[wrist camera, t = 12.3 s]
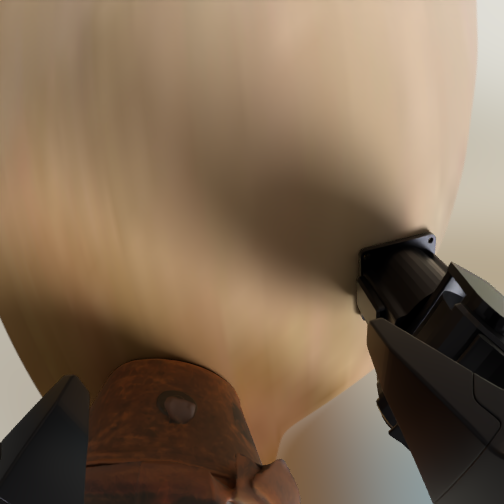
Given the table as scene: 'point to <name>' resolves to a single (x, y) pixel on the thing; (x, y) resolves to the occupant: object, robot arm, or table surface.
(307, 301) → the table surface
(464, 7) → the table surface
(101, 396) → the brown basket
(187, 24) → the table surface
